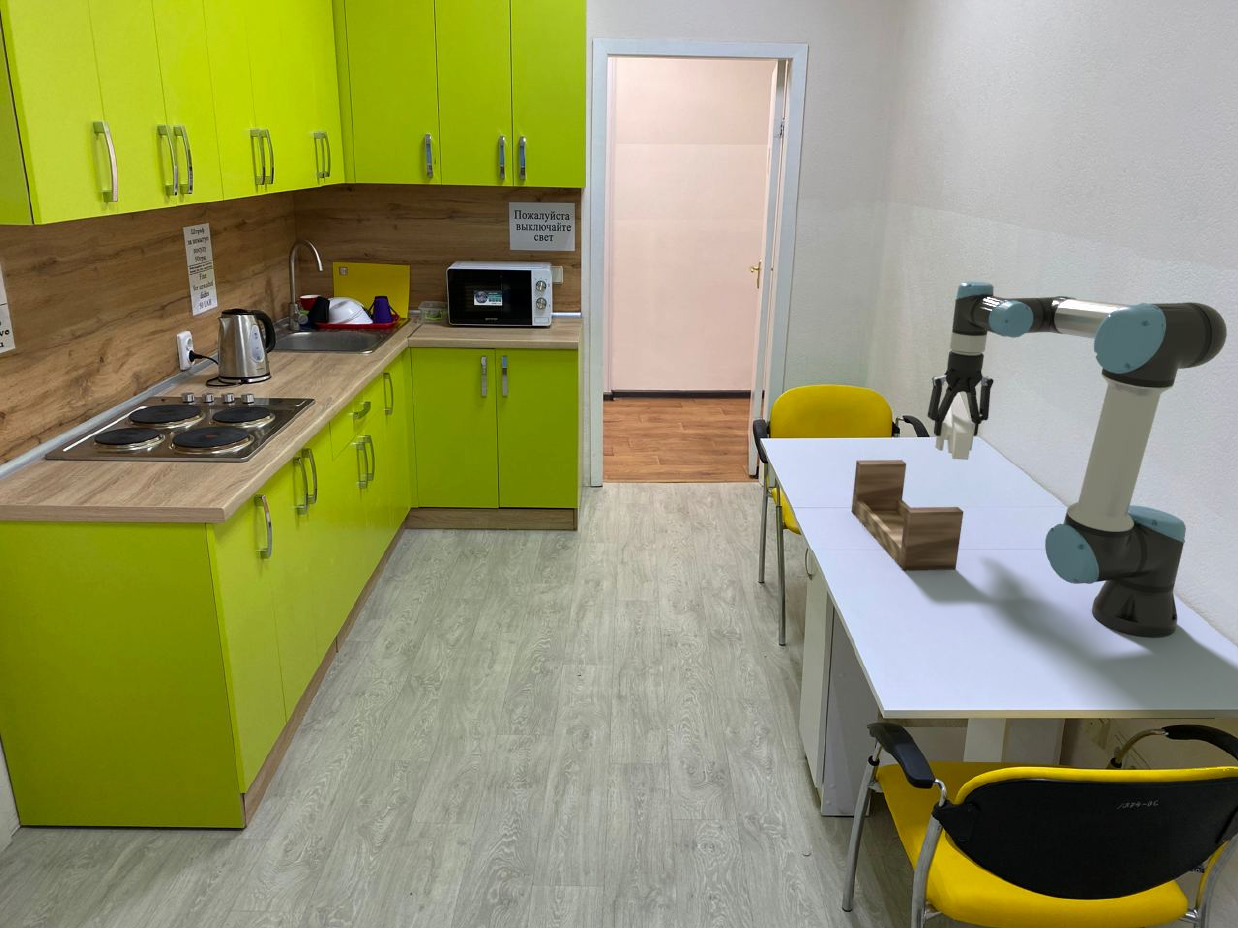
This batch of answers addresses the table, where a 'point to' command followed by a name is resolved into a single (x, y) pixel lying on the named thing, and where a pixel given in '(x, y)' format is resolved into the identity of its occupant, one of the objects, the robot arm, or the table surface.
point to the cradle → (904, 519)
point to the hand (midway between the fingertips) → (953, 448)
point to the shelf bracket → (958, 429)
